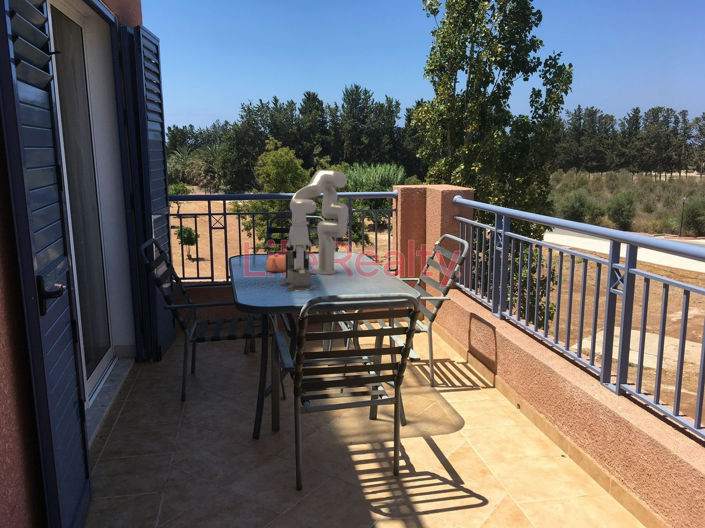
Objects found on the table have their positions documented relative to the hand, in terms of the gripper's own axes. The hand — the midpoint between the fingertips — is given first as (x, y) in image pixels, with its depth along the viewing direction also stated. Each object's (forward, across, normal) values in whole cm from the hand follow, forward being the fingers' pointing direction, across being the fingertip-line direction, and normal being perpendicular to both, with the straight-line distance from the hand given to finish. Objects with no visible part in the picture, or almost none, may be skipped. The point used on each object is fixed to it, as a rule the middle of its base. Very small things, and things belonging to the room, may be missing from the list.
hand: (298, 257), depth 303 cm
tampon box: (+16, -5, -20) cm, 26 cm away
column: (+10, 0, 0) cm, 10 cm away
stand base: (+16, 0, 0) cm, 16 cm away
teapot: (+17, +2, -41) cm, 44 cm away
